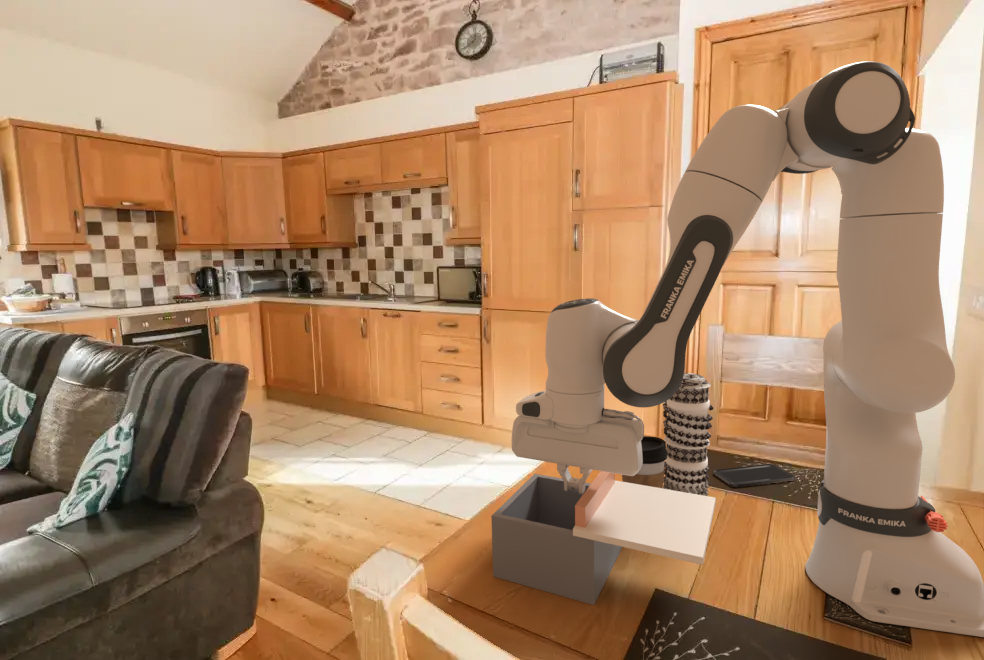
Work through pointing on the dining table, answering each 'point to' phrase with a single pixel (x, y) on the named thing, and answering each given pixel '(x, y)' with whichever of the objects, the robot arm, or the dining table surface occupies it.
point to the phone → (753, 475)
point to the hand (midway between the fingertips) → (574, 491)
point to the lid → (645, 518)
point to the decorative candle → (688, 436)
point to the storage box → (548, 543)
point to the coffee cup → (650, 463)
